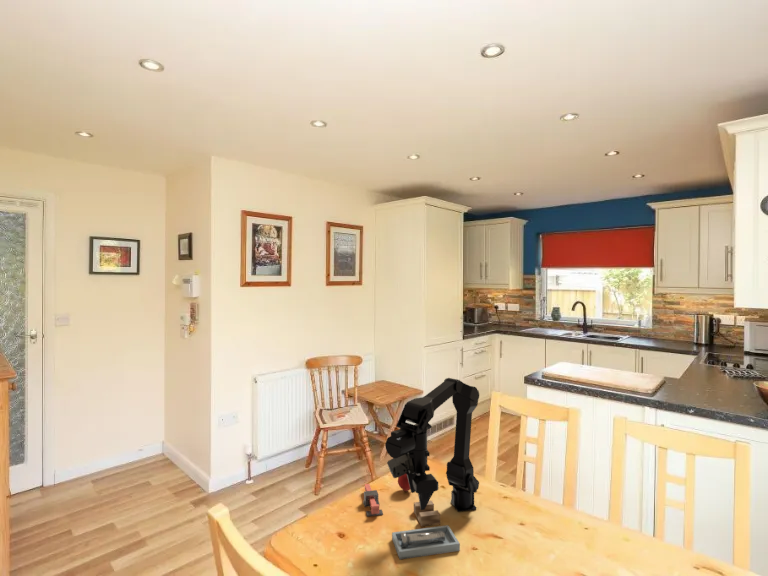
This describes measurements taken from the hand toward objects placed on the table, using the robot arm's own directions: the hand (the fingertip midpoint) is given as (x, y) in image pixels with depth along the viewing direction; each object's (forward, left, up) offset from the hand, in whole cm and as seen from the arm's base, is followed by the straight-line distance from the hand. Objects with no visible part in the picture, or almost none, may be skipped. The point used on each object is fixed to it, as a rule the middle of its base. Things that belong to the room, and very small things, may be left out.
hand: (417, 500), depth 116 cm
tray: (-1, +3, -11) cm, 11 cm away
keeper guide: (+10, -18, -11) cm, 23 cm away
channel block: (-6, -9, -11) cm, 15 cm away
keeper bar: (+10, -21, -11) cm, 26 cm away
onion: (-4, -26, -11) cm, 29 cm away
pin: (-1, +3, -11) cm, 11 cm away
